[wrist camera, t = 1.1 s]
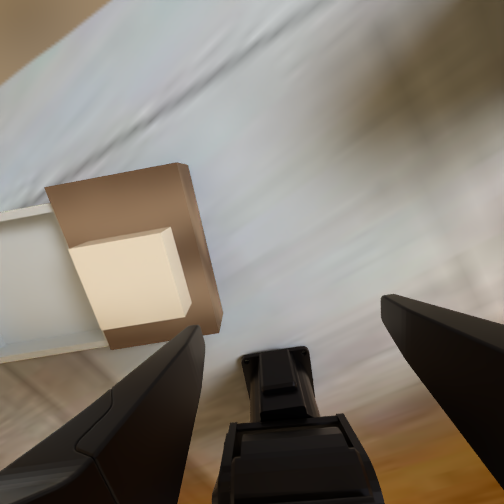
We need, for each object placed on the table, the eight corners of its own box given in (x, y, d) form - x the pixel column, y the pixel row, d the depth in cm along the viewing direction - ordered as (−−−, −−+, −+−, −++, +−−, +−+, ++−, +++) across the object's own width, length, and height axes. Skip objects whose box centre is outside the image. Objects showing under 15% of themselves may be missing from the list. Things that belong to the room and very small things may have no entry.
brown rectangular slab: (223, 313, 22) (219, 332, 19) (128, 328, 23) (110, 349, 20) (187, 164, 19) (176, 162, 16) (75, 186, 19) (44, 187, 16)
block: (191, 302, 19) (185, 316, 17) (116, 315, 19) (101, 330, 17) (170, 226, 17) (160, 232, 15) (88, 241, 17) (67, 249, 15)
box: (128, 328, 23) (114, 345, 20) (6, 347, 23) (-20, 366, 21) (80, 198, 19) (57, 201, 17) (-62, 225, 20) (-103, 231, 17)
